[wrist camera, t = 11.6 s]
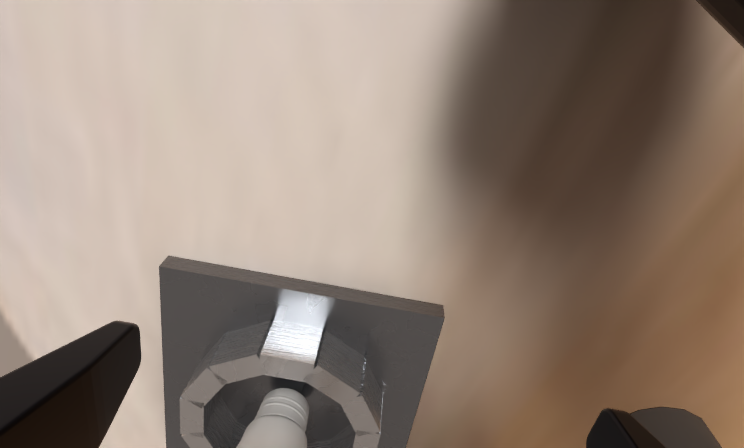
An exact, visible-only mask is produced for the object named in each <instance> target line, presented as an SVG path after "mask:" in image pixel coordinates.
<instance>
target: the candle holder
mask: <svg viewBox="0 0 744 448" xmlns="http://www.w3.org/2000/svg"><path fill="white" fill-rule="evenodd" d="M630 415H631V416H633V417H634V418H635V419H636V420H637V421H638V422H639V423H640V424H641V425H642V426H643V427H644V428H646V429H647V430H648V431H649V432H650V433H651V434H652V435H653V436H654V437H655V438H656V439H658V440H659V441H660V442H661V443H662V444H663V445H664V446H665V447H666V448H722V447H721V446H720V444H719V443H718V441H717V440H716V438H715V437H714V435H713V434H712V433H711V431H710V430H709V428H708V427H707V425H706V424H705V423H704V421H703V420H702V418H700V417H698V416H696V415H694V414H692V413H690V412H688V411H686V410H683V409H675V408H667V407H658V408H651V409H645V410H638V411H636V412H634V413H632V414H630Z"/></svg>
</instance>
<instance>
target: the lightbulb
mask: <svg viewBox="0 0 744 448" xmlns="http://www.w3.org/2000/svg"><path fill="white" fill-rule="evenodd" d="M308 416H309V404H308V402H307V400H306V399H305V398H304V396H303V395H302V394H301V393H299V392H297V391H295V390H293V389H289V388H278V389H275V390H272V391H270V392H269V393H268V394H267V395H266V396H265V397H264V399H263V402H262V403H261V405H260V408H259V410H258V412H257V415H256V417H255V419H254V420H253V421H252V422H251V423H250V424H249V425H248V427H247V428H246V430H245V432H244V434H243V436H242V439H241V441H240V442H239V444H238V446H237V447H236V448H307V438H306V434H305V431H306V425H307V421H308Z"/></svg>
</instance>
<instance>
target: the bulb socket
mask: <svg viewBox="0 0 744 448" xmlns="http://www.w3.org/2000/svg"><path fill="white" fill-rule="evenodd" d="M159 275H160V300H161V325H162V350H163V375H164V400H165V425H166V448H236V447H237V446H238V444H239V442H240V441H241V439H242V436H243V434H244V432H245V430H246V428H247V427H248V425H249V424H250V423H251V422H252V421H253V420H254V419H255V417H256V415H257V412H258V410H259V408H260V405H261V403H262V402H263V399H264V397H265V396H266V395H267V394H268V393H269V392H270V391H272V390H275V389H278V388H289V389H293V390H295V391H297V392H299V393H301V394H302V395H303V396H304V398H305V399H306V400H307V402H308V404H309V416H308V421H307V425H306V431H305V434H306V438H307V448H406V444H407V441H408V438H409V434H410V431H411V428H412V424H413V421H414V418H415V414H416V411H417V408H418V404H419V401H420V398H421V394H422V391H423V388H424V384H425V381H426V378H427V374H428V371H429V368H430V365H431V361H432V358H433V355H434V351H435V348H436V345H437V341H438V338H439V335H440V331H441V328H442V325H443V321H444V309H443V305H437V304H432V303H426V302H421V301H415V300H410V299H404V298H399V297H393V296H388V295H382V294H377V293H371V292H366V291H360V290H354V289H349V288H343V287H338V286H332V285H327V284H321V283H316V282H310V281H305V280H299V279H294V278H288V277H283V276H277V275H272V274H266V273H261V272H255V271H250V270H244V269H238V268H233V267H227V266H222V265H216V264H211V263H205V262H200V261H194V260H189V259H183V258H178V257H172V256H168V257H167V258H166V259H165V260H164V261H163V263H162V264H161V265H160V266H159Z"/></svg>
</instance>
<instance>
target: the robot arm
mask: <svg viewBox="0 0 744 448" xmlns="http://www.w3.org/2000/svg"><path fill="white" fill-rule="evenodd" d="M696 1H697V2H698V3H699V4H700V5H701V6H702V7H703V8H704V9H705V10H706V11H707V12H708V13H709V14H710V15H711V16H712V17H713V18H714V19H715V20H716V21H717V22H718V23H719V24H720V25H721V26H722V27H723V28H724V29H725V30H726V31H727V32H728V33H729V34H730V35H731V36H732V37H733V38H734V39H735V40H736V41H737V42H738V43H739V44H740V45H741V46H742V47H743V48H744V0H696ZM140 362H141V345H140V331H139V327H138V326H137V325H136V324H134V323H129V322H123V321H113V322H111V323H109V324H107V325H105V326H103V327H101V328H99V329H97V330H95V331H93V332H91V333H89V334H87V335H85V336H83V337H81V338H79V339H77V340H75V341H73V342H71V343H69V344H67V345H65V346H62V347H60V348H58V349H56V350H54V351H52V352H50V353H48V354H46V355H44V356H42V357H40V358H38V359H36V360H34V361H32V362H30V363H28V364H26V365H24V366H22V367H20V368H18V369H16V370H14V371H12V372H10V373H8V374H6V375H4V376H2V377H0V448H99V446H100V444H101V442H102V441H103V439H104V437H105V435H106V433H107V431H108V429H109V427H110V425H111V423H112V421H113V419H114V417H115V415H116V413H117V411H118V409H119V407H120V405H121V403H122V401H123V399H124V397H125V395H126V393H127V391H128V389H129V387H130V385H131V383H132V381H133V379H134V377H135V375H136V373H137V371H138V368H139V366H140ZM586 448H666V447H665V446H664V445H663V444H662V443H661V442H660V441H659V440H658V439H656V438H655V437H654V436H653V435H652V434H651V433H650V432H649V431H648V430H647V429H646V428H644V427H643V426H642V425H641V424H640V423H639V422H638V421H637V420H636V419H635V418H634V417H633V416H631V415H630V414H629V413H627V412H625V411H621V410H615V409H610V408H606V409H604V410H602V411H601V413H600V415H599V416H598V418H597V420H596V422H595V424H594V425H593V427H592V429H591V431H590V433H589V435H588V437H587V442H586Z"/></svg>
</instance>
